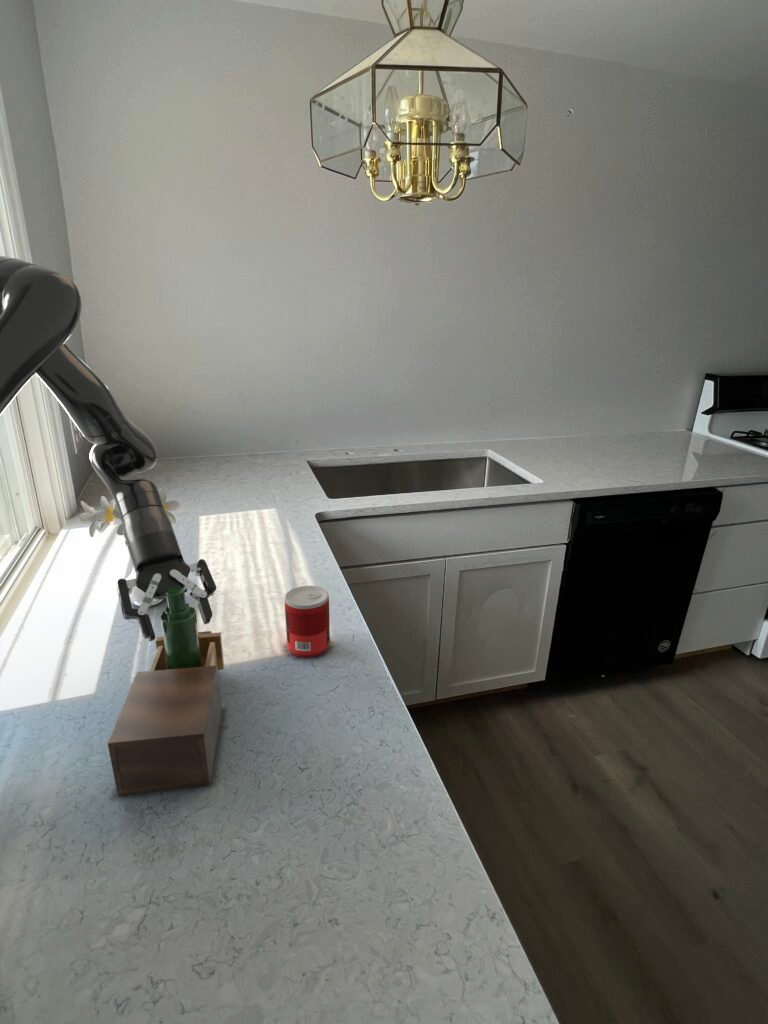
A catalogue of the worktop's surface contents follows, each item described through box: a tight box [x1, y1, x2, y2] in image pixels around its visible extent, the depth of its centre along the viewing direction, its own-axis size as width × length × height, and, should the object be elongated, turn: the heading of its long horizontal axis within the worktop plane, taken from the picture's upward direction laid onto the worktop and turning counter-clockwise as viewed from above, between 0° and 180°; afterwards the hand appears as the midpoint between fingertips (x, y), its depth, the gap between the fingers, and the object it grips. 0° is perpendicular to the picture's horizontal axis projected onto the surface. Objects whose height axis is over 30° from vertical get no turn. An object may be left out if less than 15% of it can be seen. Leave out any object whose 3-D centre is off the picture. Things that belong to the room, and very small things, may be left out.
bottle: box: [160, 587, 203, 669], centre depth 88 cm, size 5×5×17 cm
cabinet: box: [107, 666, 223, 796], centre depth 79 cm, size 15×12×9 cm
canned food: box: [284, 585, 331, 659], centre depth 102 cm, size 8×8×11 cm
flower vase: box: [79, 487, 180, 607], centre depth 115 cm, size 13×18×25 cm
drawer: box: [148, 630, 225, 674], centre depth 91 cm, size 18×10×7 cm, turn 9°
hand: (180, 630), depth 87 cm, fingers open, 8 cm apart
